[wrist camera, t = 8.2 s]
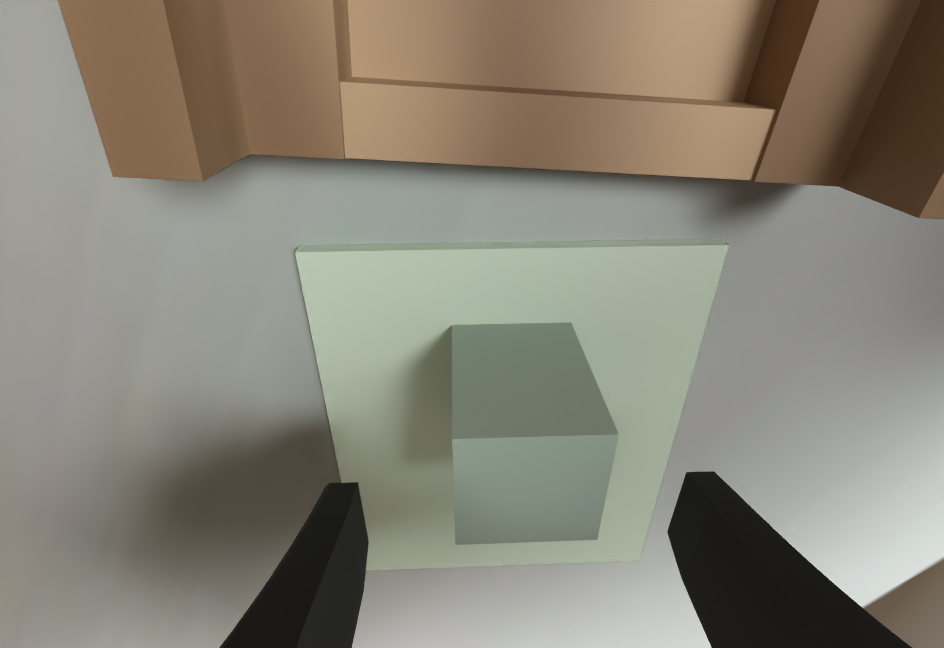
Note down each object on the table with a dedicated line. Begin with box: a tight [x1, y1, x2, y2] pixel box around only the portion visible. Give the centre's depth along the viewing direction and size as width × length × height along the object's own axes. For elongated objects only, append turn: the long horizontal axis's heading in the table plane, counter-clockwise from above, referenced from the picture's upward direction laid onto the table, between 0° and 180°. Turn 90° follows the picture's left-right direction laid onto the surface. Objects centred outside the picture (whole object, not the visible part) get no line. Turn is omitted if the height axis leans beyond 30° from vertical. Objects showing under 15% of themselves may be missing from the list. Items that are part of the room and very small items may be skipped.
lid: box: [295, 239, 729, 571], centre depth 13 cm, size 10×12×5 cm
